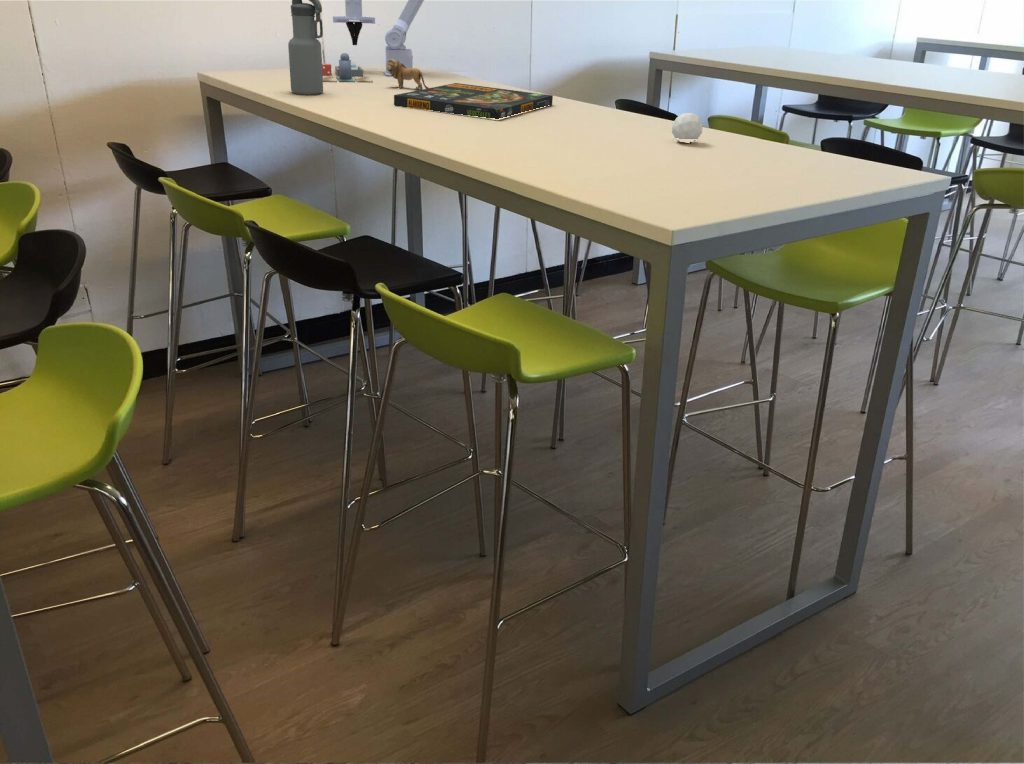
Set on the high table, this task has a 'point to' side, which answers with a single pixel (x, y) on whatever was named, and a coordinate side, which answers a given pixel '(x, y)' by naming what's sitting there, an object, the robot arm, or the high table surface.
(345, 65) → the pawn
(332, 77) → the track
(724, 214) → the high table surface
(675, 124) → the geometric ball
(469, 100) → the board game box
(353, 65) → the dome
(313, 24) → the water bottle
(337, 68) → the dome frame
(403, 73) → the lion figurine
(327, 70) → the red die
